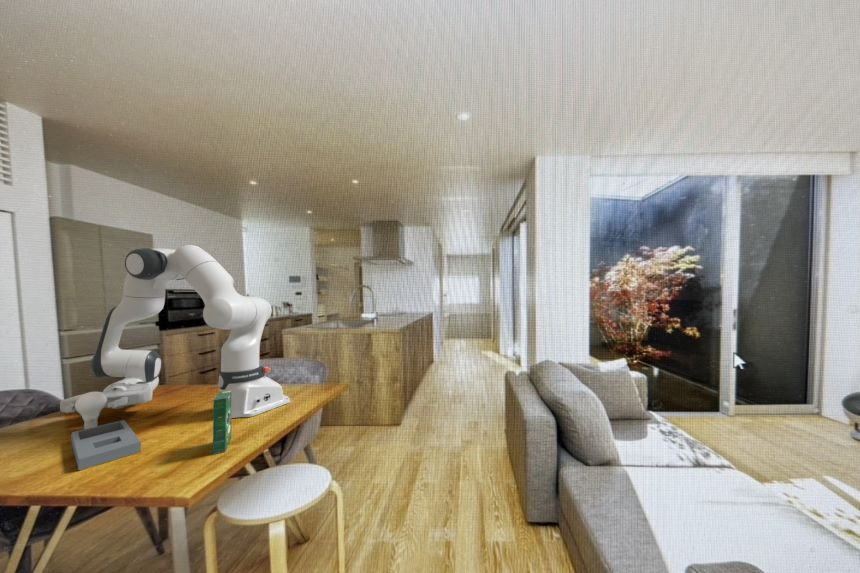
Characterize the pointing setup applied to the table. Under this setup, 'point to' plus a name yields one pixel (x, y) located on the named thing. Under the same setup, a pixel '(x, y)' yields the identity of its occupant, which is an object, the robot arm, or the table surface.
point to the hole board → (104, 444)
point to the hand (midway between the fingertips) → (90, 407)
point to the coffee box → (221, 421)
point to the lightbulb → (90, 407)
